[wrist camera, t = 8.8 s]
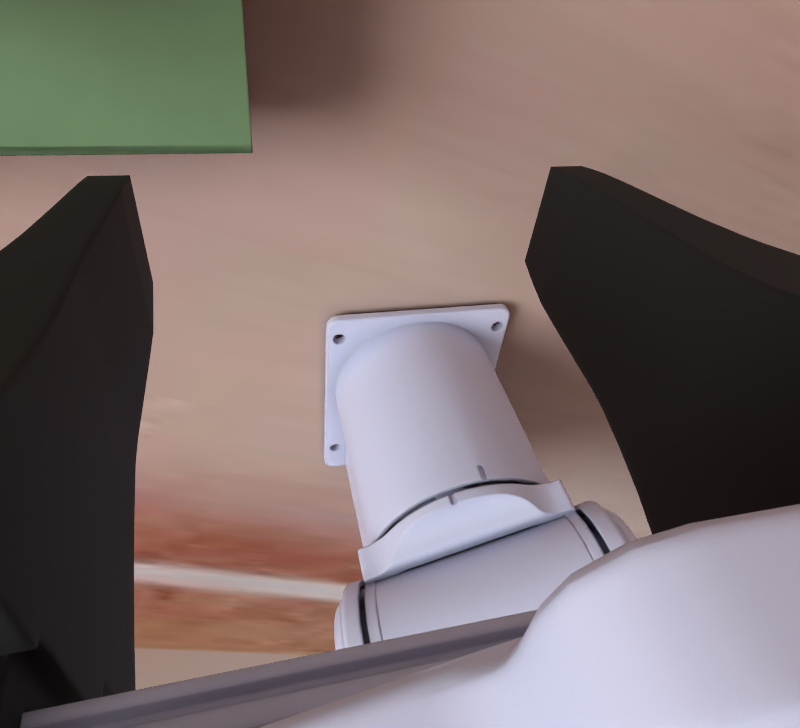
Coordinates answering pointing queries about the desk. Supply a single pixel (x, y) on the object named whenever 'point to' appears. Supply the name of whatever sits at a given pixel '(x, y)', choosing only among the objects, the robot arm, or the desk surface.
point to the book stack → (123, 77)
